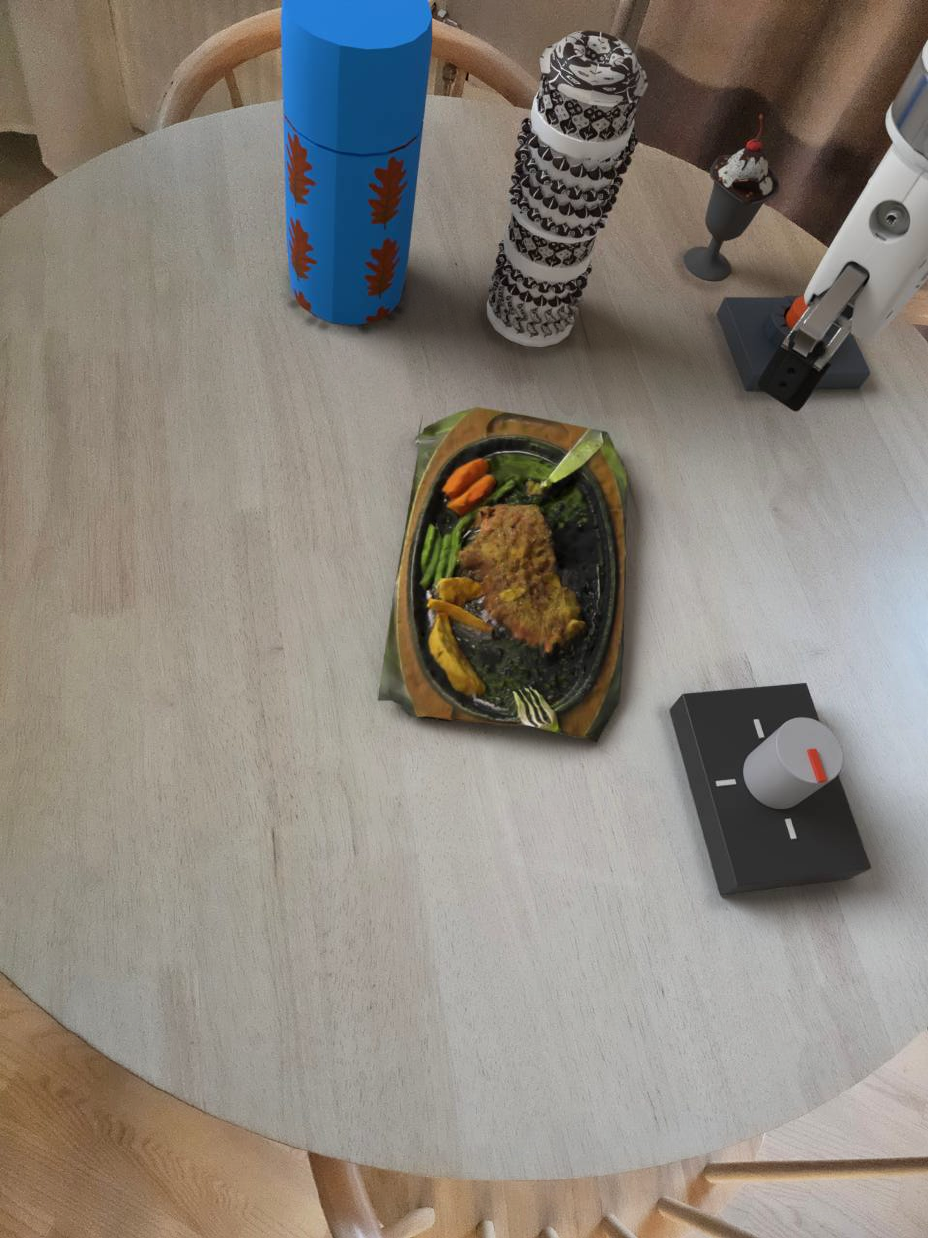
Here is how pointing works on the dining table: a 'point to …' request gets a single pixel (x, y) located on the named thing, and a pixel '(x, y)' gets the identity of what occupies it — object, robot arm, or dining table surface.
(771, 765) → the knob
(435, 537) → the prepared meal
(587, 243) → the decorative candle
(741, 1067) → the dining table surface
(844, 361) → the switch block
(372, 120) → the thermos
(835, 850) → the dial panel
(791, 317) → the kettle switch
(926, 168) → the robot arm
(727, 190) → the sundae
